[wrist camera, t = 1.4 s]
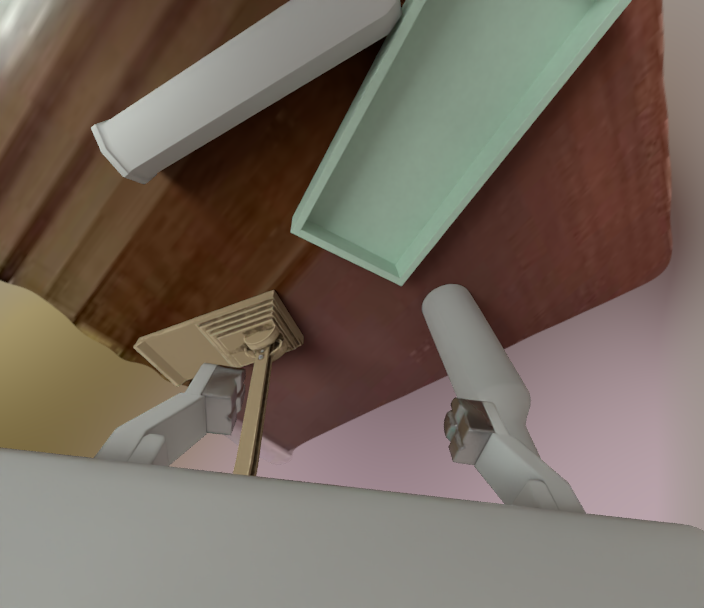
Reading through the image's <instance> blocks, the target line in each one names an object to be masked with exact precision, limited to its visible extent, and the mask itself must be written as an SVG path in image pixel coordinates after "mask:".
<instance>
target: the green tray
mask: <svg viewBox="0 0 704 608" xmlns="http://www.w3.org/2000/svg"><path fill="white" fill-rule="evenodd" d="M631 1H632V0H405V2H404V4H403V6H402V8H401V11H402V16H401V17H400V19H399V20H398V22H397V23H396V24H395V26H394V27H393V29H392V30H391V32H390V33H389V34H388V35H387V37H386V39H385V41H384V43H383V44H382V46H381V48H380V50H379V52H378V54H377V56H376V58H375V60H374V62H373V64H372V66H371V67H370V69H369V71H368V73H367V75H366V77H365V79H364V81H363V83H362V85H361V87H360V89H359V91H358V92H357V94H356V96H355V98H354V100H353V102H352V104H351V106H350V108H349V110H348V112H347V114H346V115H345V117H344V119H343V121H342V123H341V125H340V127H339V129H338V131H337V133H336V135H335V137H334V138H333V140H332V142H331V144H330V146H329V148H328V150H327V152H326V154H325V156H324V158H323V160H322V162H321V163H320V165H319V167H318V169H317V171H316V173H315V175H314V177H313V179H312V181H311V183H310V185H309V186H308V188H307V190H306V192H305V194H304V196H303V198H302V200H301V202H300V204H299V206H298V208H297V210H296V211H295V213H294V215H293V217H292V225H291V233H293V234H295V235H297V236H299V237H301V238H303V239H305V240H307V241H309V242H311V243H313V244H315V245H317V246H319V247H321V248H323V249H326V250H328V251H330V252H332V253H334V254H336V255H338V256H340V257H342V258H344V259H346V260H348V261H350V262H352V263H354V264H357V265H359V266H361V267H363V268H365V269H367V270H369V271H371V272H373V273H375V274H377V275H379V276H381V277H383V278H386V279H388V280H390V281H392V282H394V283H396V284H398V285H400V286H402V285H403V284H404V283H405V281H406V280H407V279H408V278H409V276H410V275H411V274H412V273H413V271H414V270H415V269H416V268H417V266H418V265H419V264H420V263H421V262H422V260H423V259H424V258H425V257H426V255H427V254H428V253H429V252H430V250H431V249H432V248H433V247H434V245H435V244H436V243H437V242H438V240H439V239H440V238H441V237H442V235H443V234H444V233H445V232H446V230H447V229H448V228H449V227H450V225H451V224H452V223H453V222H454V221H455V219H456V218H457V217H458V216H459V214H460V213H461V212H462V211H463V209H464V208H465V207H466V206H467V204H468V203H469V202H470V201H471V199H472V198H473V197H474V196H475V194H476V193H477V192H478V191H479V189H480V188H481V187H482V186H483V184H484V183H485V182H486V181H487V180H488V178H489V177H490V176H491V175H492V173H493V172H494V171H495V170H496V168H497V167H498V166H499V165H500V163H501V162H502V161H503V160H504V158H505V157H506V156H507V155H508V153H509V152H510V151H511V150H512V148H513V147H514V146H515V145H516V143H517V142H518V141H519V140H520V139H521V137H522V136H523V135H524V134H525V132H526V131H527V130H528V129H529V127H530V126H531V125H532V124H533V122H534V121H535V120H536V119H537V117H538V116H539V115H540V114H541V112H542V111H543V110H544V109H545V107H546V106H547V105H548V104H549V102H550V101H551V100H552V99H553V97H554V96H555V95H556V94H557V93H558V91H559V90H560V89H561V88H562V86H563V85H564V84H565V83H566V81H567V80H568V79H569V78H570V76H571V75H572V74H573V73H574V71H575V70H576V69H577V68H578V66H579V65H580V64H581V63H582V61H583V60H584V59H585V58H586V56H587V55H588V54H589V53H590V52H591V50H592V49H593V48H594V47H595V45H596V44H597V43H598V42H599V40H600V39H601V38H602V37H603V35H604V34H605V33H606V32H607V30H608V29H609V28H610V27H611V25H612V24H613V23H614V22H615V20H616V19H617V18H618V17H619V15H620V14H621V13H622V12H623V11H624V9H625V8H626V7H627V6H628V4H629V3H630V2H631Z"/></svg>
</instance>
